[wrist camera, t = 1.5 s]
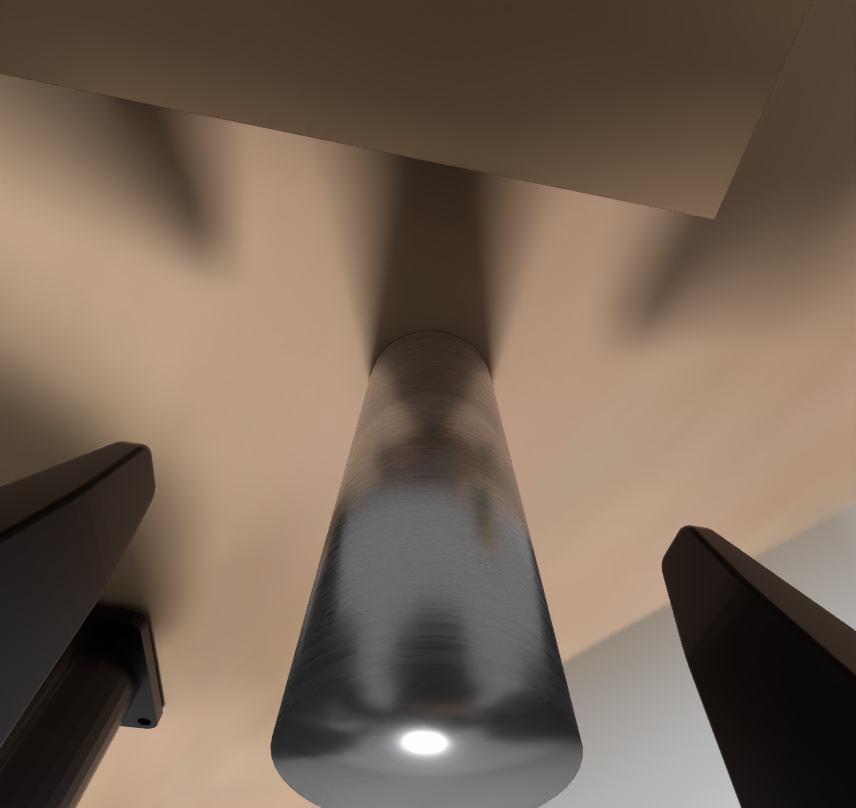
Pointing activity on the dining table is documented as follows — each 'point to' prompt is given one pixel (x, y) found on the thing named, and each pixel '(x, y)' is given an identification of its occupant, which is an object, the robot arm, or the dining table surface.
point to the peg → (427, 611)
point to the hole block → (447, 78)
